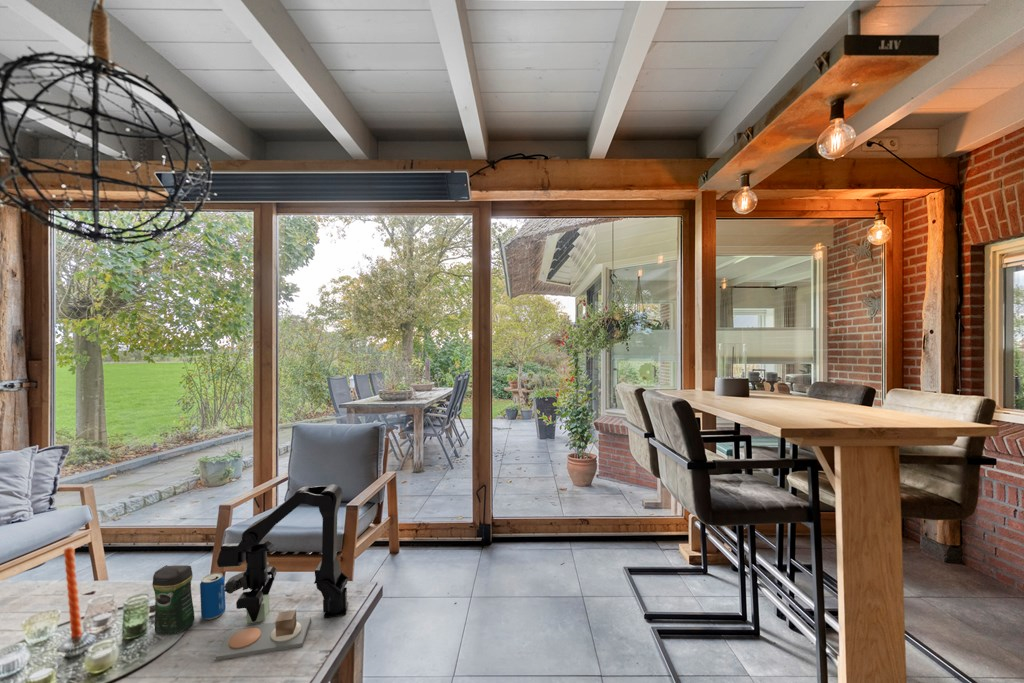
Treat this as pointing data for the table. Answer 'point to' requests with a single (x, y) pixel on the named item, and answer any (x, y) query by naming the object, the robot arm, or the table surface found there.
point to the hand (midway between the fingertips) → (258, 613)
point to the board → (261, 639)
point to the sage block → (261, 610)
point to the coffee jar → (173, 599)
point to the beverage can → (212, 595)
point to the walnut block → (285, 623)
